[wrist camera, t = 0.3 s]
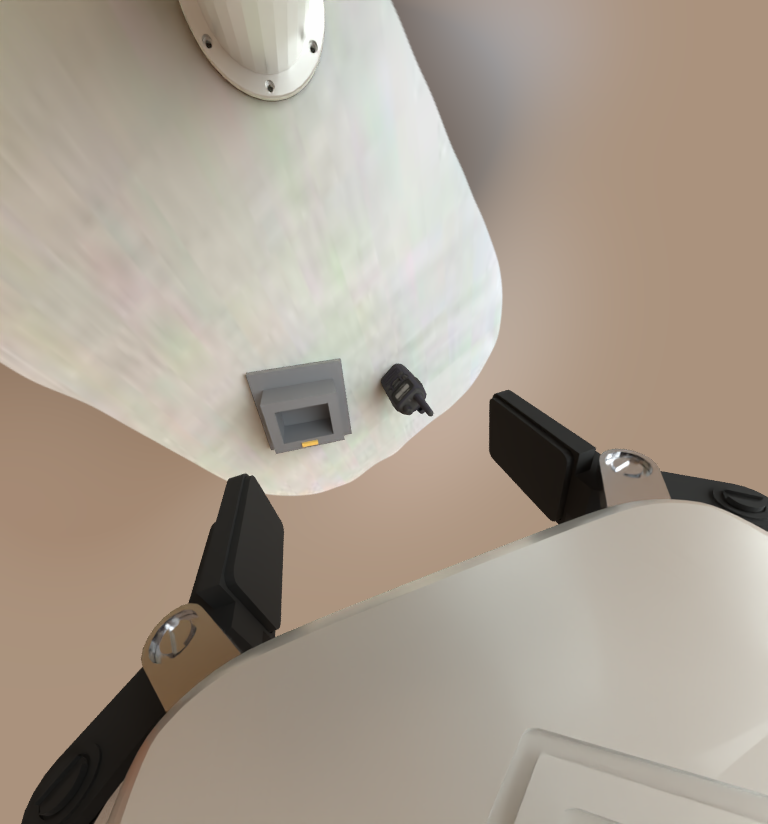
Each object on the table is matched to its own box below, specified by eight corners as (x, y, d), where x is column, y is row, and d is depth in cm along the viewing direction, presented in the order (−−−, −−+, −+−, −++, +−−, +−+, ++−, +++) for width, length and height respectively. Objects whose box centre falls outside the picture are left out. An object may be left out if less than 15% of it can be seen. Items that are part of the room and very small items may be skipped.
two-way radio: (397, 358, 49) (434, 399, 36) (414, 373, 51) (454, 416, 39) (375, 382, 50) (403, 430, 37) (393, 396, 52) (425, 445, 40)
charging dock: (246, 372, 43) (240, 391, 38) (340, 358, 46) (346, 374, 41) (271, 446, 51) (269, 471, 45) (350, 430, 53) (357, 451, 48)
